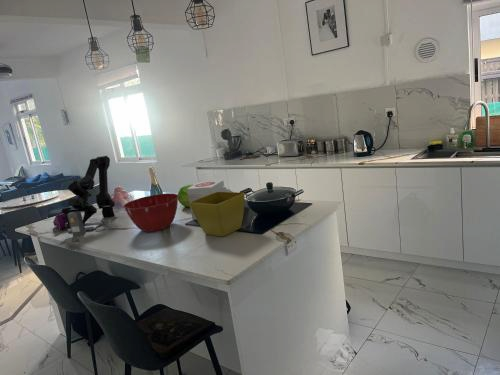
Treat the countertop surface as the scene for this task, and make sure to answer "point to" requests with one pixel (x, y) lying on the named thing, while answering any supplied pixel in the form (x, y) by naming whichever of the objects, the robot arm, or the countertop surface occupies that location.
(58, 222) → the mounting bracket
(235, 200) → the flower pot
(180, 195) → the lettuce
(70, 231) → the rail plate
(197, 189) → the pizza boxes
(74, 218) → the block
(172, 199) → the mixing bowl
